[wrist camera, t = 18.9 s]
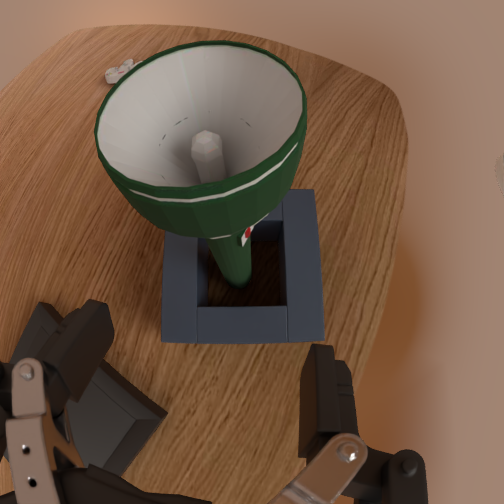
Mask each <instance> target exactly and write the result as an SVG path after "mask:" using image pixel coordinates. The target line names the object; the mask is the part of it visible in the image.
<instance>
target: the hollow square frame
mask: <svg viewBox="0 0 504 504" xmlns="http://www.w3.org/2000/svg"><path fill="white" fill-rule="evenodd" d="M250 241H278V258H279V285H280V306H238V307H208V250H209V246H208V244H207V242H206V240H205V238H196V237H185V236H179V235H177V234H174V233H171V232H168V231H166V230H165V241H164V256H163V275H162V305H161V342H168V343H195V344H196V343H198V344H264V343H287V342H288V343H292V342H310V341H324V340H325V334H324V309H323V289H322V273H321V259H320V247H319V235H318V224H317V214H316V204H315V195H314V190H313V189H290V190H289V191H288V192H287V194H286V195H285V196H284V198H283V199H282V200H281V202H280V203H279V204H278V206H277V207H276V208H275V209H274V210H272V211H271V212H270V213H269V214H268V215H267V216H266V217H264V218H263V219H262V220H261V221H259V222H258V223H257V224H255V225H254V228H253V229H252V231H251V234H250Z"/></svg>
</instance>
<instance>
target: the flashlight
mask: <svg viewBox="0 0 504 504" xmlns="http://www.w3.org/2000/svg"><path fill="white" fill-rule="evenodd" d="M306 130H307V98H306V95H305V91H304V89H303V87H302V85H301V82H300V80H299V78H298V76H297V74H296V73H295V72H294V71H293V70H292V69H291V68H290V67H289V66H288V65H287V64H286V63H285V61H283V60H282V59H280V58H278V57H277V56H275V55H274V54H272V53H270V52H269V51H267V50H264V49H261V48H258V47H256V46H253V45H250V44H246V43H240V42H233V41H226V40H218V41H199V42H194V43H188V44H183V45H179V46H176V47H173V48H170V49H167V50H165V51H162V52H159V53H157V54H155V55H153V56H151V57H149V58H148V59H146V60H144V61H142V62H141V63H139V64H137V65H136V66H135V67H133V68H132V69H131V70H130V71H128V72H127V73H126V74H125V75H124V76H122V77H121V78H120V79H119V80H118V81H117V83H116V84H115V85H114V86H113V87H112V89H111V90H110V91H109V92H108V94H107V95H106V97H105V99H104V101H103V103H102V105H101V107H100V109H99V111H98V113H97V118H96V123H95V129H94V135H95V141H96V147H97V152H98V157H99V159H100V161H101V162H102V164H103V167H104V168H105V170H106V171H107V173H108V175H109V176H110V178H111V179H112V181H113V182H114V184H115V185H116V186H117V188H118V189H119V190H120V191H121V193H122V194H123V195H124V196H125V198H126V199H127V200H128V201H129V203H130V204H131V205H132V206H133V207H134V208H135V209H136V210H137V211H138V212H139V213H140V214H141V215H142V216H143V217H145V218H146V219H147V220H149V221H150V222H151V223H153V224H154V225H155V226H157V227H158V228H160V229H163V230H166V231H168V232H171V233H174V234H177V235H179V236H185V237H196V238H205V240H206V242H207V244H208V246H209V248H210V250H211V252H212V254H213V256H214V258H215V260H216V262H217V264H218V266H219V268H220V270H221V272H222V274H223V276H224V278H225V280H226V282H227V283H228V285H229V286H231V287H232V288H235V289H242V288H244V287H246V286H247V285H248V284H249V283H250V281H251V277H252V270H251V243H250V234H251V231H252V229H253V228H254V225H255V224H257V223H258V222H259V221H261V220H262V219H263V218H264V217H266V216H267V215H268V214H269V213H270V212H271V211H272V210H274V209H275V208H276V207H277V206H278V204H279V203H280V202H281V200H282V199H283V198H284V196H285V195H286V194H287V192H288V191H289V190H290V187H291V185H292V182H293V179H294V176H295V173H296V170H297V167H298V164H299V161H300V158H301V154H302V150H303V145H304V140H305V135H306Z"/></svg>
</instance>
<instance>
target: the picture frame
mask: <svg viewBox="0 0 504 504" xmlns="http://www.w3.org/2000/svg"><path fill="white" fill-rule="evenodd" d="M63 320H64V319H63V318H62V316H61V315H60V314H59V313H58V312H57V311H56V310H55V309H54V307H53V306H52V305H51V304H47V303H42V302H39V303H38V305H37V306H36V308H35V310H34V312H33V314H32V316H31V318H30V320H29V322H28V323H27V325H26V327H25V329H24V331H23V334H22V336H21V338H20V340H19V342H18V344H17V346H16V348H15V351H14V353H13V355H12V357H11V360H10V362H9V364H17V363H18V362H19V361H20V360H22V359H25V358H34V357H35V356H36V355H37V353H38V352H39V351H40V349H41V348H42V347H43V345H44V344H45V343H46V341H47V340H48V339H49V337H50V336H51V335H52V334H53V332H55V330H56V328H57V327H58V326H59V325H61V322H62V321H63ZM66 406H67V410H68V416H69V421H70V426H71V430H72V435H73V439H74V443H75V446H76V449H77V451H78V453H79V454H80V456H81V459H82V461H83V464H84V467H85V468H88V465H89V463H90V464H93V465H95V466H97V467H100V468H102V469H104V470H107V471H109V472H112V473H114V474H116V475H118V476H119V477H121V476H122V474H123V473H124V472H125V470H126V469H127V468H128V467H129V465H130V464H131V463H132V461H133V460H134V459H135V457H136V456H137V455H138V453H139V452H140V451H141V449H142V448H143V447H144V445H145V444H146V443H147V441H148V440H149V439H150V437H151V436H152V435H153V433H154V432H155V431H156V429H157V428H158V427H159V425H160V424H161V423H162V421H163V420H164V419H165V417H166V416H167V414H168V412H166V411H165V410H164V409H162V408H161V407H160V406H158V405H157V404H156V403H154V402H153V401H152V400H151V399H149V398H148V397H147V396H145V395H144V394H143V393H142V392H141V391H139V390H138V389H137V388H136V387H134V386H133V385H132V384H131V383H130V382H128V381H127V380H126V379H125V378H124V377H123V376H121V375H120V374H119V373H118V372H117V371H116V370H115V369H114V368H112V367H111V366H110V365H109V364H108V363H107V362H106V361H105V360H104V359H103V360H102V361H101V363H100V365H99V366H98V368H97V370H96V372H95V373H94V375H93V377H92V379H91V380H90V382H89V384H88V386H87V388H86V389H85V391H84V393H83V395H82V397H81V398H80V400H79V402H78V403H76V402H74V401H71V400H69V399H68V401H67V403H66ZM3 456H4V457H5V458H6V459H7V460H8V462H9V455H8V447H7V448H6V450H5V452H4V455H3ZM9 463H10V462H9Z"/></svg>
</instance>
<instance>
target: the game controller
mask: <svg viewBox="0 0 504 504" xmlns="http://www.w3.org/2000/svg"><path fill="white" fill-rule="evenodd" d="M141 62H142V61H140V62H138V63H136V64H134V63H133V59H129V60H127V61H124V63H123V65H122V66H121V67H120V68H119V69H118V68H117V67H115V68H110V69H108V70H107V71H106V73H105V78H106V81H107V83H109V84H110V83H117V81H118V80H119V79H120V78H121V77H122V76H124V75H125V74H126V73H127V72H128V71H130V70H131V69H132V68H133V67H135V66H136V65H137V64H139V63H141Z"/></svg>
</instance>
